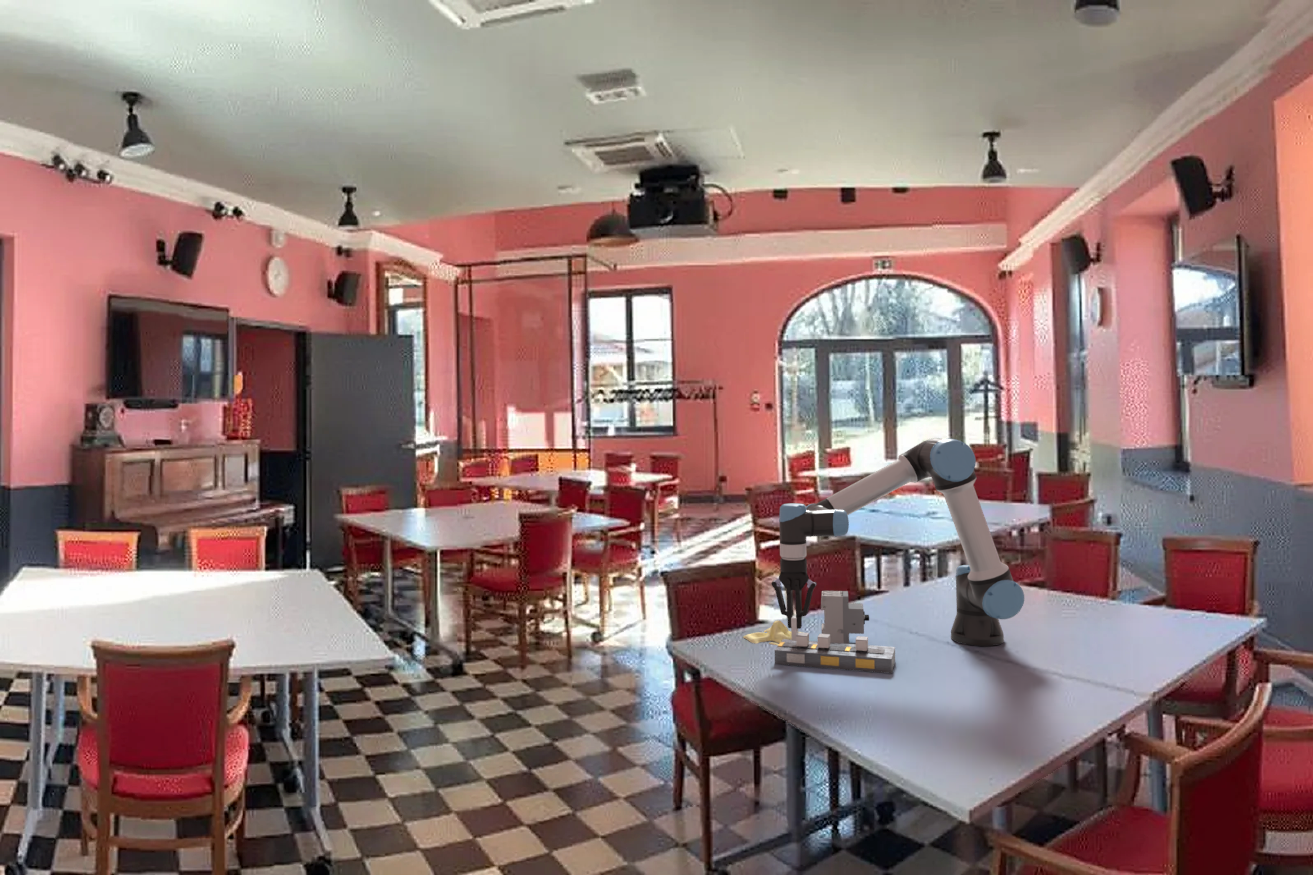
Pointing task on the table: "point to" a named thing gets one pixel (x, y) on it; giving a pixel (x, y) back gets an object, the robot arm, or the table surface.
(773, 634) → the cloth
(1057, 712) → the table surface
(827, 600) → the circuit breaker
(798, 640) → the knob
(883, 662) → the console
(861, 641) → the knob
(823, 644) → the knob
